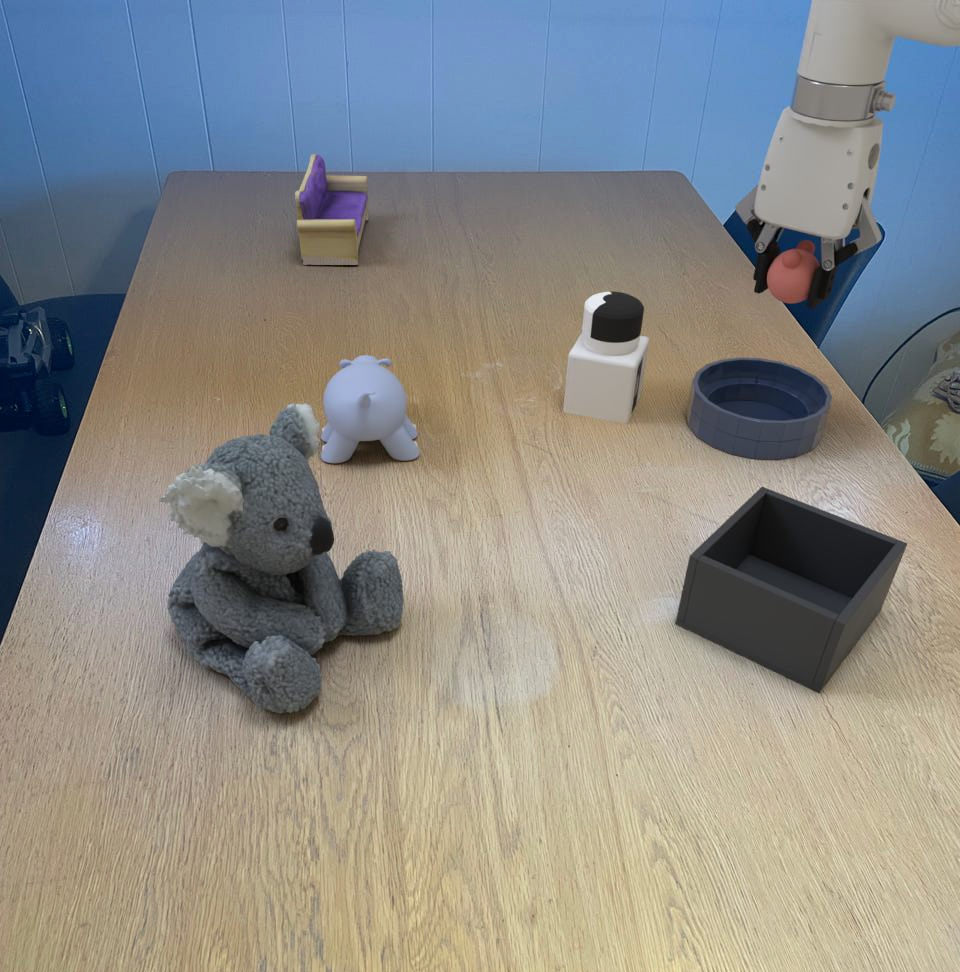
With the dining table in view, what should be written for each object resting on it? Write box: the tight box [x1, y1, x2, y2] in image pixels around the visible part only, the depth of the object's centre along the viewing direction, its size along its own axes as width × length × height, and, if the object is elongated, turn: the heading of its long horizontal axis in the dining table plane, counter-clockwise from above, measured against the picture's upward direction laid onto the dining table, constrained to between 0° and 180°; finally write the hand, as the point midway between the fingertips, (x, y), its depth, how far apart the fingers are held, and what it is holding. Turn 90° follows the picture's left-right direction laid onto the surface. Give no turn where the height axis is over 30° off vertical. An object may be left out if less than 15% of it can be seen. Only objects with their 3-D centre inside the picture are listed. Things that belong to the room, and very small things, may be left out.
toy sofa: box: [294, 154, 370, 261], centre depth 147 cm, size 21×9×10 cm, turn 0°
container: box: [562, 291, 650, 425], centre depth 110 cm, size 8×8×13 cm
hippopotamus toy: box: [320, 354, 421, 464], centre depth 104 cm, size 11×15×10 cm
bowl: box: [685, 356, 833, 461], centre depth 109 cm, size 15×15×5 cm
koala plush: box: [158, 401, 405, 714], centre depth 77 cm, size 17×18×20 cm
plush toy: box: [767, 239, 820, 304], centre depth 97 cm, size 5×5×6 cm
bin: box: [675, 486, 908, 693], centre depth 84 cm, size 14×14×8 cm
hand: (789, 294), depth 99 cm, fingers closed on plush toy, 5 cm apart
